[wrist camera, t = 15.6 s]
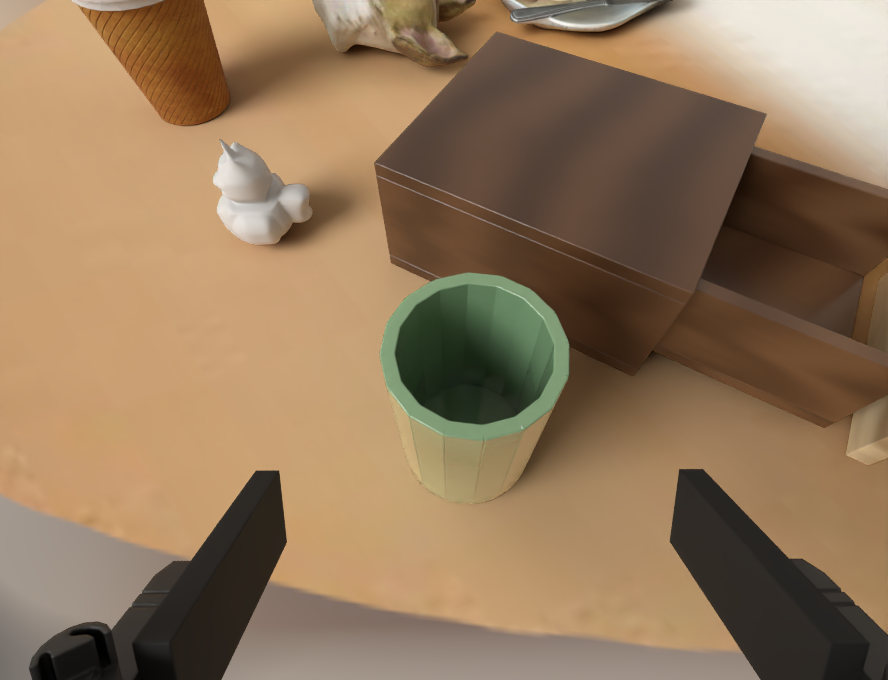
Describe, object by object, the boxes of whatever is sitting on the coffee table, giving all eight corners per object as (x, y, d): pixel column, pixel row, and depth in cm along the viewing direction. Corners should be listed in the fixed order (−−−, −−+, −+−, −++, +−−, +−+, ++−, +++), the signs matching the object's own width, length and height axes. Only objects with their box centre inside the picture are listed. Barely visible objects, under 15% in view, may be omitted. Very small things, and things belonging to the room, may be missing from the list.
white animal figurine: (236, 204, 38) (188, 111, 31) (323, 200, 38) (294, 106, 31) (225, 260, 35) (169, 172, 28) (318, 256, 35) (285, 166, 28)
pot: (549, 417, 29) (598, 318, 20) (493, 530, 26) (518, 477, 16) (444, 363, 31) (441, 248, 21) (380, 462, 28) (343, 379, 18)
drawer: (1004, 325, 31) (1138, 253, 25) (997, 525, 25) (1170, 495, 19) (650, 195, 37) (690, 112, 31) (579, 333, 31) (610, 264, 25)
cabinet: (701, 219, 37) (767, 113, 29) (633, 376, 30) (694, 294, 23) (488, 140, 41) (496, 31, 34) (390, 262, 35) (373, 162, 27)
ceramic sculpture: (313, -95, 43) (483, -76, 43) (328, 10, 51) (473, 26, 51) (281, -33, 38) (474, -12, 38) (303, 74, 46) (464, 92, 46)
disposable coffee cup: (259, 71, 46) (203, -88, 36) (234, 139, 42) (161, -22, 31) (159, 70, 47) (75, -89, 36) (123, 138, 42) (14, -23, 31)
